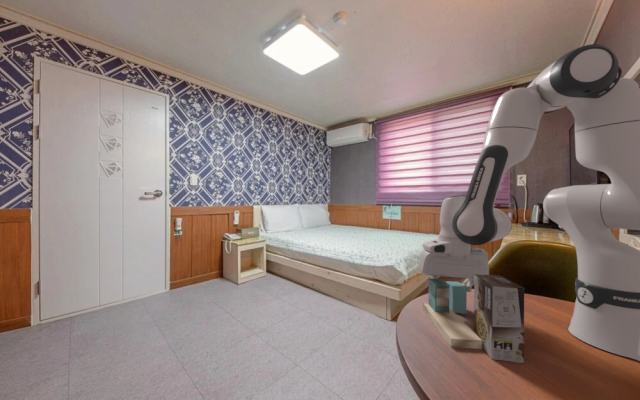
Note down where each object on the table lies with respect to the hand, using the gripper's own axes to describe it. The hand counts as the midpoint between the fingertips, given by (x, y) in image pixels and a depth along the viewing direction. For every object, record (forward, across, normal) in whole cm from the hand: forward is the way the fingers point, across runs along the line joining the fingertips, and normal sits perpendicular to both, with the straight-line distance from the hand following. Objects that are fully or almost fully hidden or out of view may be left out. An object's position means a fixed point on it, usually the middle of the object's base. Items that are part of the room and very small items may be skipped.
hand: (452, 290), depth 74 cm
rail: (+6, +6, +10) cm, 13 cm away
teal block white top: (+6, -2, -1) cm, 6 cm away
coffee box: (+6, -1, +19) cm, 20 cm away
